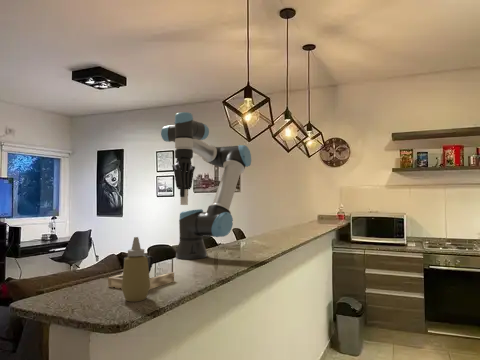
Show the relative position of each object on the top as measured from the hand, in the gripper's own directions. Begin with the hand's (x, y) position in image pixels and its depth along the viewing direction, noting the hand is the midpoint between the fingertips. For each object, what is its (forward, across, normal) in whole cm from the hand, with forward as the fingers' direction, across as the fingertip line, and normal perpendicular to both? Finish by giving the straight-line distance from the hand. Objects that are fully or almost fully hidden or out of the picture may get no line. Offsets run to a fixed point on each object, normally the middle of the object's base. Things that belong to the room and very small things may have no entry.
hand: (184, 204), depth 153 cm
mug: (+27, +30, +4) cm, 40 cm away
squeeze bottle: (+27, +44, +16) cm, 54 cm away
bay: (+26, +28, +4) cm, 39 cm away
